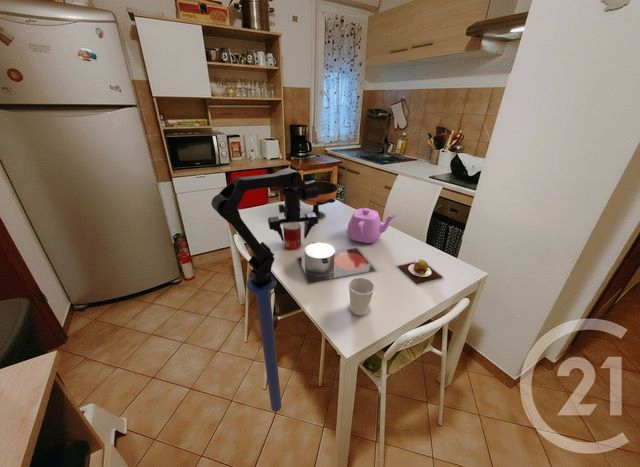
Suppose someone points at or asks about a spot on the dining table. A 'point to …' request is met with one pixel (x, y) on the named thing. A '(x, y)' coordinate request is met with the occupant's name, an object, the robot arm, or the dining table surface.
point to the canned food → (292, 235)
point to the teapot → (366, 225)
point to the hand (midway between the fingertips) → (294, 239)
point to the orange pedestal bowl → (322, 196)
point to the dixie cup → (360, 295)
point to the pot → (319, 258)
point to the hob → (341, 266)
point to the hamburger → (419, 271)
